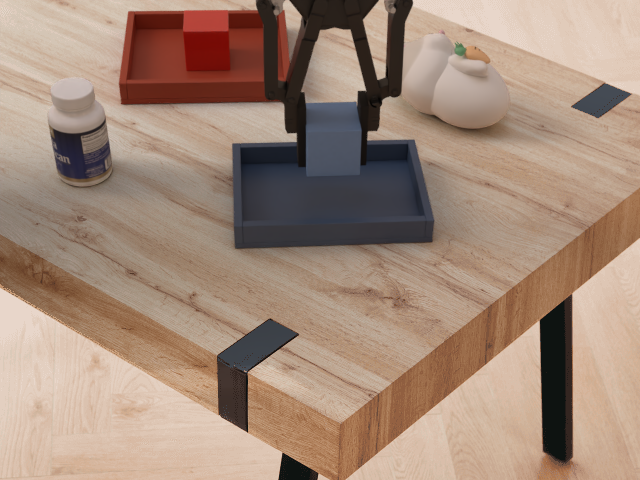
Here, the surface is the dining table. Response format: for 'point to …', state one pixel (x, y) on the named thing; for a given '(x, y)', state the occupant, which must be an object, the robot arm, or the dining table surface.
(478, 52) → the animal figurine with carrot
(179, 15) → the red tray
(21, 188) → the dining table surface
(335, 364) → the dining table surface
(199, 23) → the red cube
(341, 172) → the blue cube
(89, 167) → the pill bottle
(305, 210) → the blue tray
